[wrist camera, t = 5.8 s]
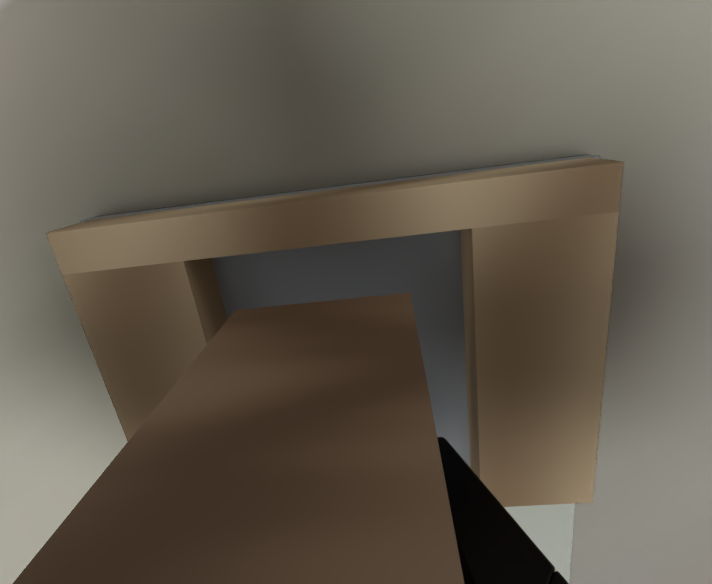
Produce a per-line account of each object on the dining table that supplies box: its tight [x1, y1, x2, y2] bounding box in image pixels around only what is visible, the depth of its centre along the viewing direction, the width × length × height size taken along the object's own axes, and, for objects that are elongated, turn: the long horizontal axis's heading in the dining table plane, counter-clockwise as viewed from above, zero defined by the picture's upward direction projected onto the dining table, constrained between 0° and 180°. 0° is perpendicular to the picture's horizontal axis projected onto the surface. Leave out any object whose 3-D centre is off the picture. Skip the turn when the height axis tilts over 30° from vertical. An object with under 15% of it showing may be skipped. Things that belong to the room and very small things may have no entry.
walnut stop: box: [13, 292, 464, 584], centre depth 7 cm, size 4×6×6 cm, turn 8°
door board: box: [80, 155, 600, 583], centre depth 14 cm, size 13×18×1 cm
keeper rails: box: [46, 157, 624, 507], centre depth 11 cm, size 12×9×2 cm
